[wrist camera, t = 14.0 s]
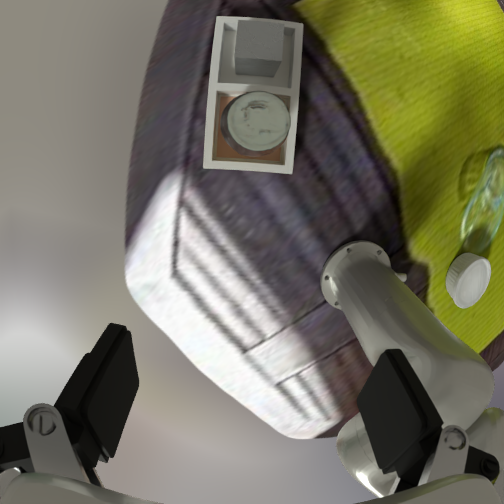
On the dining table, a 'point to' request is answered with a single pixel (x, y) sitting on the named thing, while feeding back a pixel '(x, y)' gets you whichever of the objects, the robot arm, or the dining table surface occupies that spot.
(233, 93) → the divided bay tray
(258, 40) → the grey metal block
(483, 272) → the ramekin
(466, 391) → the robot arm
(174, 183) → the dining table surface
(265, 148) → the sauce bottle
